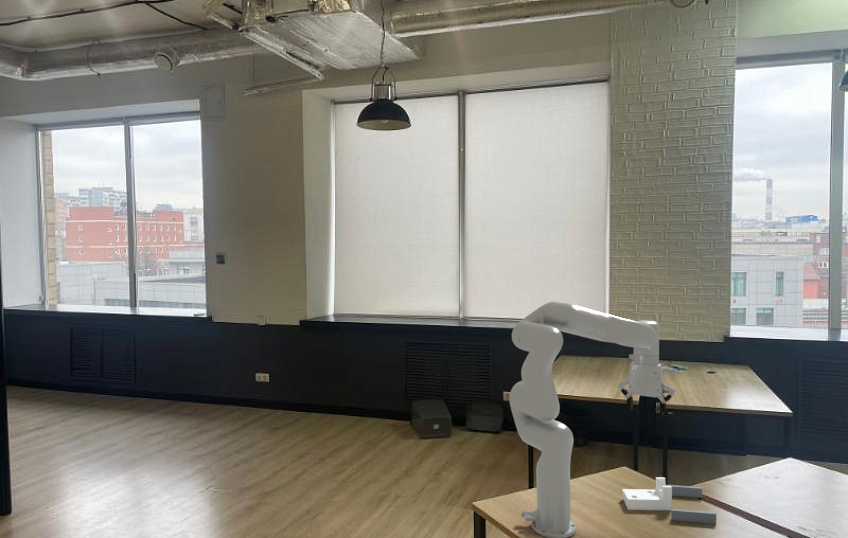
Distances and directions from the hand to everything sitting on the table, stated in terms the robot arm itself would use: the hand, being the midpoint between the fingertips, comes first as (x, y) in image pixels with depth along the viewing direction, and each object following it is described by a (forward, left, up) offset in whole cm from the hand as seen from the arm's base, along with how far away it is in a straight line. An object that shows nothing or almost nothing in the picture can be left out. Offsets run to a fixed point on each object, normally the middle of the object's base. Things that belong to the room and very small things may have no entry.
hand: (646, 412), depth 184 cm
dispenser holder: (+12, -6, -28) cm, 31 cm away
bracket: (-1, -6, -28) cm, 29 cm away
